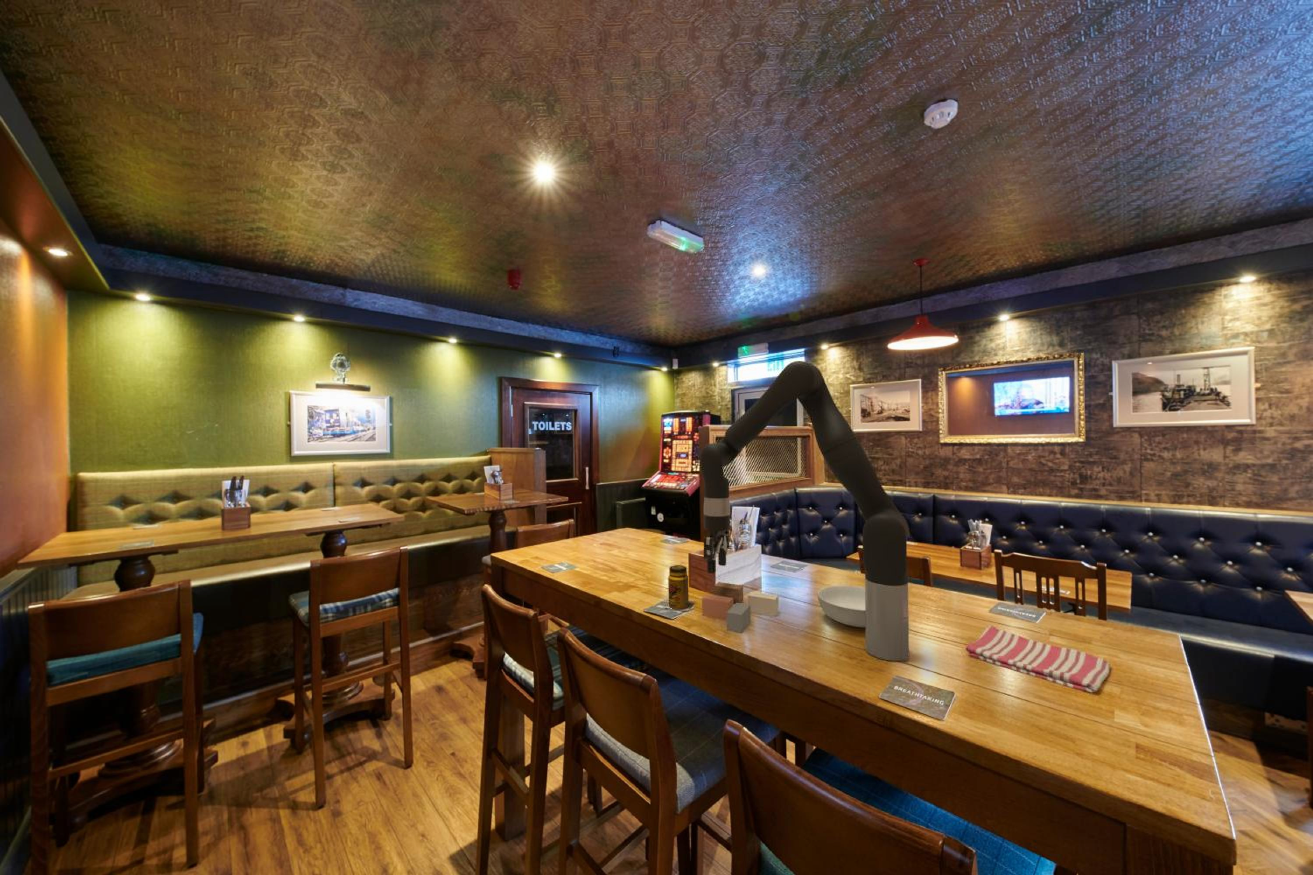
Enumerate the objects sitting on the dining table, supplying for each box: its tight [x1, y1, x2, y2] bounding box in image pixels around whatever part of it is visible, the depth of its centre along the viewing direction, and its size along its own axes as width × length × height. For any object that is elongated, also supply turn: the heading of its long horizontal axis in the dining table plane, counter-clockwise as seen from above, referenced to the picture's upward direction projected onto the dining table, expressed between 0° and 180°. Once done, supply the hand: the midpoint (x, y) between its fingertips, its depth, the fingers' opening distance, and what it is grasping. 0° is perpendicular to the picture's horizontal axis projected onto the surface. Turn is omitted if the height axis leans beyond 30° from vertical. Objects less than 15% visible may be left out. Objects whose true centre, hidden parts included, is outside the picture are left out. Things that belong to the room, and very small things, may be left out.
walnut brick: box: [713, 581, 744, 606], centre depth 149 cm, size 8×4×5 cm, turn 62°
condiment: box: [666, 564, 696, 612], centre depth 146 cm, size 7×8×12 cm
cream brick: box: [747, 591, 780, 618], centre depth 140 cm, size 8×4×5 cm, turn 62°
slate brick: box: [726, 602, 752, 634], centre depth 130 cm, size 8×4×5 cm, turn 152°
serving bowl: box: [817, 584, 865, 629], centre depth 132 cm, size 21×21×7 cm
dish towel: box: [965, 625, 1111, 694], centre depth 108 cm, size 17×23×4 cm
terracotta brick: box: [701, 593, 734, 621], centre depth 138 cm, size 8×4×5 cm, turn 62°
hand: (717, 568), depth 138 cm, fingers open, 8 cm apart
